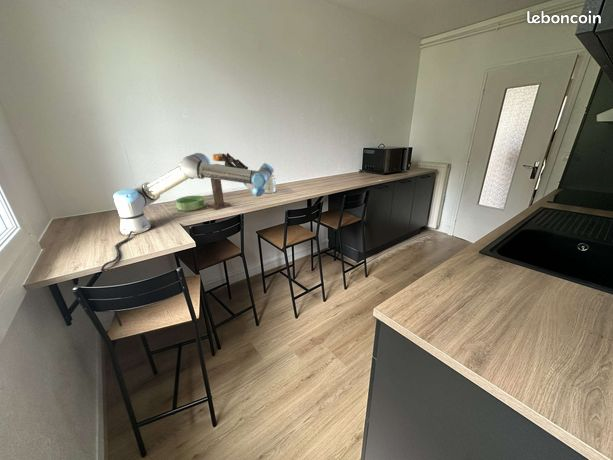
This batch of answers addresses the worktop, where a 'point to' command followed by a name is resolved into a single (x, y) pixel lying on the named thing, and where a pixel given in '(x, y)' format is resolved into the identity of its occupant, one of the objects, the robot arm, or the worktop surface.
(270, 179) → the jar
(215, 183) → the stand
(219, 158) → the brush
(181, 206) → the bowl
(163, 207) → the worktop surface
